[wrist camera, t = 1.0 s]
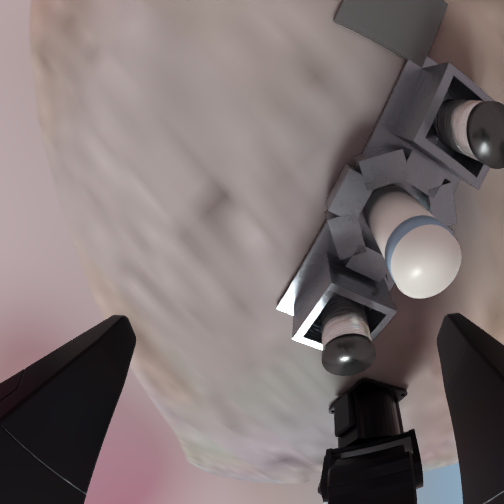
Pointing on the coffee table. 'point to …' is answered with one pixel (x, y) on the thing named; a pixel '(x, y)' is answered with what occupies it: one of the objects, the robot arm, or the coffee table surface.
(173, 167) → the coffee table surface
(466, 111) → the plunger
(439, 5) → the rubber pad
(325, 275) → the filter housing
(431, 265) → the cartridge
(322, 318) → the plunger
